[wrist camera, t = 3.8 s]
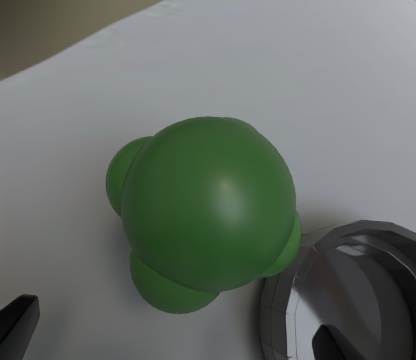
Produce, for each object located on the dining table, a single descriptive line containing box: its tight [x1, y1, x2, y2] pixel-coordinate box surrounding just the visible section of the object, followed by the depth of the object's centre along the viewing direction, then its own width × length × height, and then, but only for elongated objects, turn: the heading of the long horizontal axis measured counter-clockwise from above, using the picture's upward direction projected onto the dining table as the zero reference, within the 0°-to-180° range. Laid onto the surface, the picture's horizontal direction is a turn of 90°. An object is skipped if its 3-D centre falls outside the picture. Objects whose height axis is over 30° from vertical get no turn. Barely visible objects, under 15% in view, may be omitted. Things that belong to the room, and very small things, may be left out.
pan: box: [259, 220, 416, 360], centre depth 17 cm, size 13×13×4 cm
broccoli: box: [106, 117, 302, 314], centre depth 13 cm, size 7×7×14 cm
